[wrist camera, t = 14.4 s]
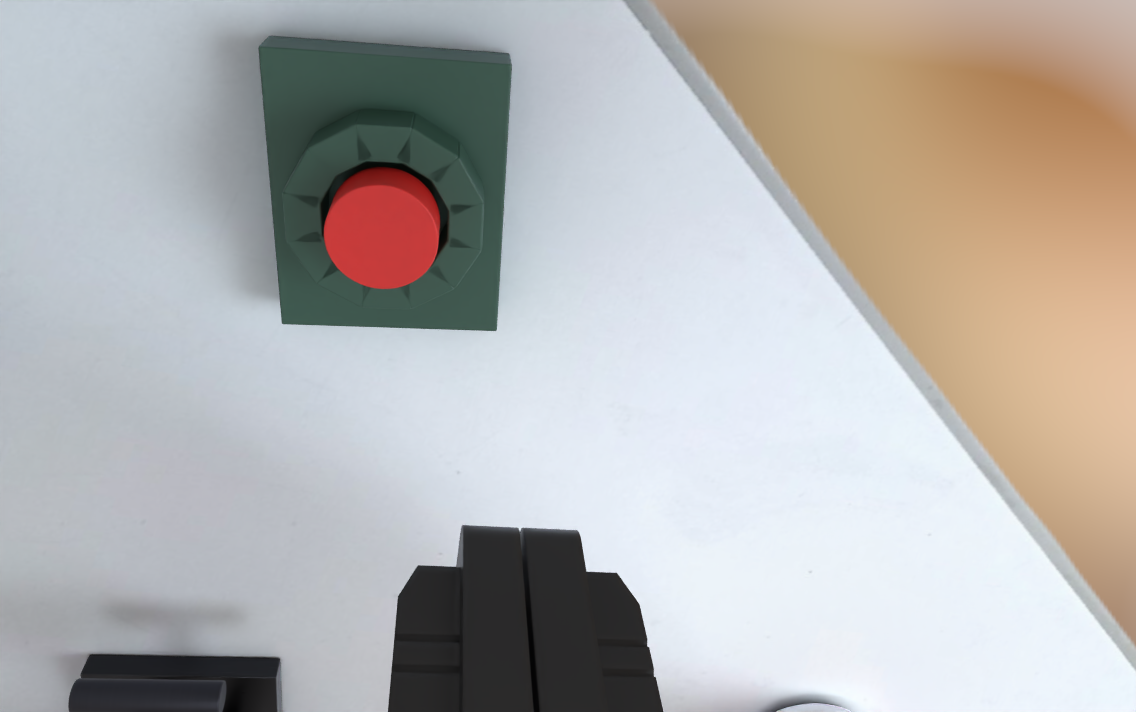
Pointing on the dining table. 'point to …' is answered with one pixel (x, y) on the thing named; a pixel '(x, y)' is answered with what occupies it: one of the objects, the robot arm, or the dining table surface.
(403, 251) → the button
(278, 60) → the button block
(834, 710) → the pill bottle
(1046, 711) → the dining table surface
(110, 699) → the lever
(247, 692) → the bracket
